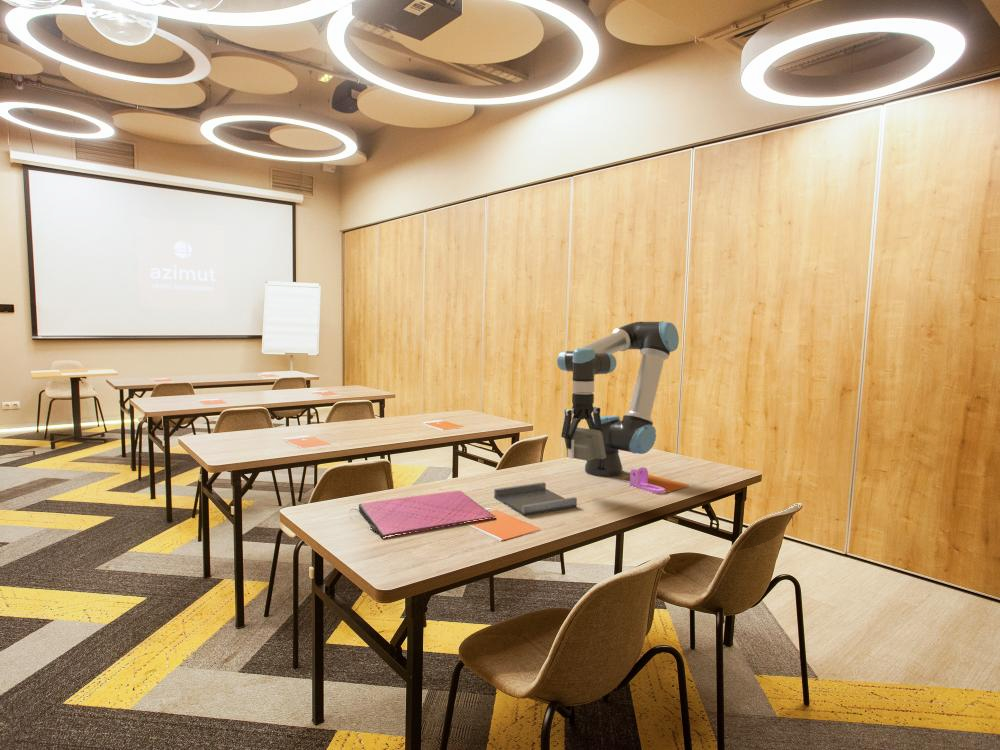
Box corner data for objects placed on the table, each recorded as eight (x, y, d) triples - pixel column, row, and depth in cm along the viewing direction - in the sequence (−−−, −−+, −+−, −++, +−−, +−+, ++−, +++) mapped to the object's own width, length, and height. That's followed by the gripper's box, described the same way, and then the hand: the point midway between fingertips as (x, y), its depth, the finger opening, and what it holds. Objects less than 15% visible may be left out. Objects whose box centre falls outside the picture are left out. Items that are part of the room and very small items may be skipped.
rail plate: (543, 490, 206) (543, 482, 205) (576, 507, 187) (576, 498, 187) (494, 497, 196) (494, 489, 196) (524, 516, 178) (524, 506, 178)
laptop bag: (460, 485, 198) (496, 510, 175) (460, 496, 199) (496, 522, 175) (345, 500, 179) (368, 530, 156) (345, 512, 180) (368, 544, 156)
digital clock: (608, 459, 196) (609, 429, 195) (590, 463, 190) (591, 432, 189) (575, 451, 208) (575, 422, 207) (557, 454, 203) (558, 425, 202)
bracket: (629, 486, 212) (630, 468, 211) (639, 484, 215) (640, 466, 215) (657, 495, 202) (658, 476, 201) (667, 492, 205) (668, 473, 204)
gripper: (601, 389, 205) (599, 450, 207) (551, 393, 195) (550, 457, 198) (614, 392, 198) (612, 455, 201) (563, 395, 189) (562, 462, 191)
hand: (581, 456), depth 199 cm, fingers closed on digital clock, 9 cm apart
